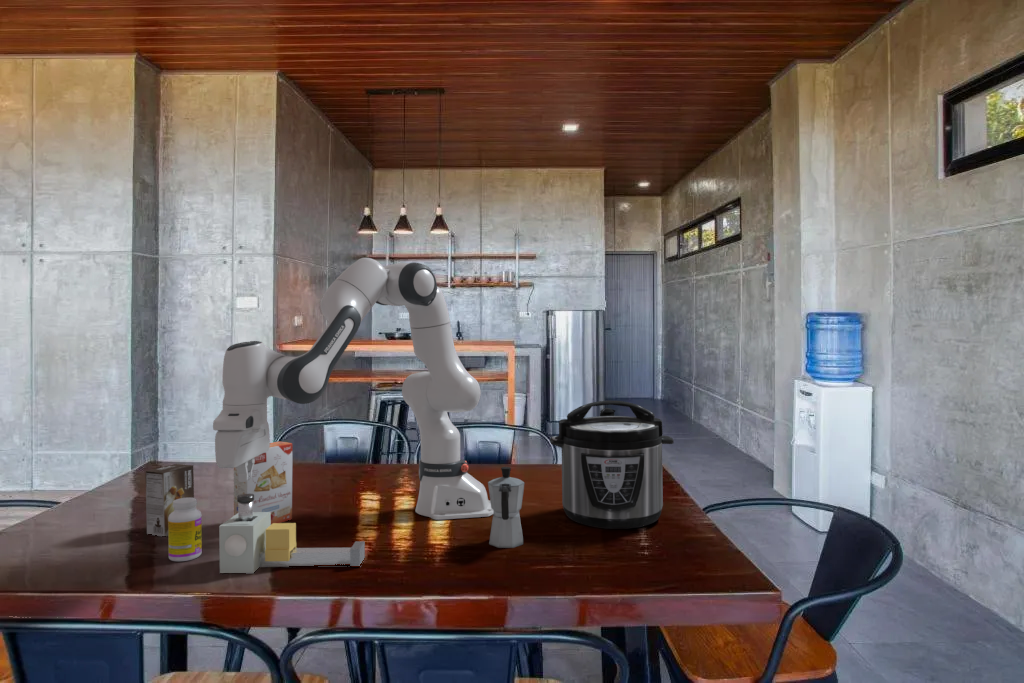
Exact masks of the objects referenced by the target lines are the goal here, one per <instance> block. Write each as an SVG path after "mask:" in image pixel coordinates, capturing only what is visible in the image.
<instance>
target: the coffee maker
mask: <svg viewBox="0 0 1024 683" xmlns="http://www.w3.org/2000/svg"><path fill="white" fill-rule="evenodd" d="M511 469H512V467H510V466H502V467H501V468H500V470H501V475H502V476H501V477H496V478H493V479H491V480H489V481H487V485H488V494H489V499H490V502H491V508H492V509H493V514H492V521H491V528H490V535H489V542H488V545H490V546H493V547H496V548H498V549H502V548H503V549H504V548H505V549H514V548H516V547H520V546H522V545H524V536H523V529H522V524H521V517H520V516H521V515H520V510H521V509H522V507H523V506H522V505H523V497H524V490H525V482H524V481H523V480H521V479H519V478H517V477H511V476H510V475H511Z"/></svg>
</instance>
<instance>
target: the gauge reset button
mask: <svg viewBox="0 0 1024 683" xmlns="http://www.w3.org/2000/svg"><path fill="white" fill-rule="evenodd" d="M253 500H254V494H242V495H238V496H237V502H238V521H252V520H253Z"/></svg>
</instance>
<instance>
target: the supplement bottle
mask: <svg viewBox="0 0 1024 683" xmlns="http://www.w3.org/2000/svg"><path fill="white" fill-rule="evenodd" d="M197 502H198V500H197V498H196V497H194V498H180V499H176V500H174V501H173V507H174V511H173V512H172V513H171V514H170V515H169V517H168V536H167V537H168V539H167V540H168V559H169V560H170V561H172V562H187V561H192V560H195V559H196V558H199V557H201V555H202V553H203V551H202V550H203V549H202V548H203V547H202V546H203V540H202V539H203V538H202V537H203V533H202V530H203V529H202V528H203V527H202V524H203V522H202V521H203V520H202V517H203V516H202V512H201V510H200V509H198V508H197V504H198V503H197Z"/></svg>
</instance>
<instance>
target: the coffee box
mask: <svg viewBox="0 0 1024 683" xmlns="http://www.w3.org/2000/svg"><path fill="white" fill-rule="evenodd" d="M194 478H195V477H194V464H193V465H192V464H179V463H174V464H170V465H166V466H161V467H158V468H153V469H149V470H146V471H145V500H146V501H145V504H146V505H145V506H146V508H145V509H146V534H147V535H148V534H152V535H151V536H155V535H157V536H158V537H162V536H166V537H168V517H169V515H170V514H171V513H172V512H173V511H174V507H173V501H174V500H176V499H180V498H195V489H194V488H195V486H194V485H195V483H194V481H195V480H194ZM157 536H156V537H157Z"/></svg>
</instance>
